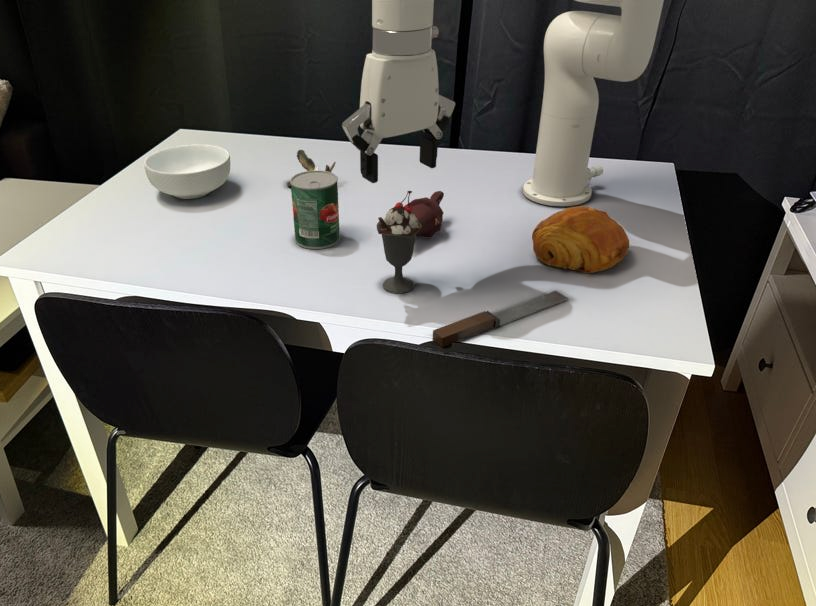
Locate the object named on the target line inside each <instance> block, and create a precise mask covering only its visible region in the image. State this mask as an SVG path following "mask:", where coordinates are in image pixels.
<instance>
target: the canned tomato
mask: <svg viewBox="0 0 816 606" xmlns="http://www.w3.org/2000/svg"><path fill="white" fill-rule="evenodd" d="M338 180H339V179H338V176H337V175H336V174H335V173H333V172H332V171H331V172H327V171H325V170H320V169H319V170H315V171H307V170H306V171H301V172H298V173H296V174H294V175H293V176H291V178H290V180H289V181H290V183H291V186H290V193H291V204H292V205H291V206H292V215H293V219H292V220H293V228H294V241H295V244H296V245H298V246H299V247H301V248H305V249H309V250H322V249H327V248H331V247H333V246H336V244H338V243H339V242H340V239H341V234H340V212H339V209H340V208H339V189H338V188H339V187H338Z"/></svg>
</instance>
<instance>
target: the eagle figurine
mask: <svg viewBox="0 0 816 606" xmlns="http://www.w3.org/2000/svg"><path fill="white" fill-rule="evenodd" d="M296 158H297V160H298V163H299V164H300V165H301V167H302V168H303V169H305V170H306V171H315V170H319V171H320V167H319V166H317V167H316V164H315V162H314V160H313V159H312V158H310V157H308V155H307V154H306V152H305V150H303V149H298V150H297V152H296ZM335 166H336V161H334V162H333V163H332V164H331V166H330V165H329V164H326V165H325V169H324V171H327V172H331V173H332V171H333V169H334V167H335ZM286 187H291V183H290V180H288V182H287V183H286Z"/></svg>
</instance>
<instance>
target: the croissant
mask: <svg viewBox="0 0 816 606" xmlns="http://www.w3.org/2000/svg"><path fill="white" fill-rule="evenodd" d="M531 239H532V247H533V252H534V254H535V256H536V257H537V258H538V259H539V260H540V262H542V263H543V264H545V265H547V266H551V267H555V268H562V269H564V270H566V269H570V270H571V271H576V270H579V272H581V273H583V274H594V273H598V272H602V271H605V270H608V269H611V268H613V267H614V266H616V265H617V264H618V263H620V262H621V261H623V259H624V258H625V256H627V255H628V250H629V249H630V239H629V237H628V235H627V232H626V230H625V229H624V227H623V226H622V225H621V224H619V223H618V222H617V221H616V220H615V219H613V218H612V217H611V216H610V215H609V213H607V212H606V211H604V210H600V209H596V208H593V207H590V206H582V205H580V206H579V205H577V206H569V207H567V208H565V209H563V210H558V211H556V212H555V213H553V214H551V215H550V216H548V217H546V218H545V219H543V220H541V221H540V222H539V223H538V224H537V225H536V226H535V228H534V229H533V231H532V235H531Z"/></svg>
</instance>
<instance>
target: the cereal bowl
mask: <svg viewBox="0 0 816 606" xmlns="http://www.w3.org/2000/svg"><path fill="white" fill-rule="evenodd" d="M143 161H144V162H143V166H144V170H145V174H146V178H147V180H148V181H149V183H150V184H151V185H152V187H153V188H154V189H156V190H157V191H159V192H161V193H164V194H167V195H169V196H173V197H175V198H177V199H182V200H193V199H194V200H195V199H199V198H202V197H205V196H207V195H209V194H210V193H211V192H213V191H215V190H216V189H218V188H219V187H221V186H222V185H224V183H225V182H226V181H227V180H228V178H229V175H230V172H231V155H230V153H229V152H228V150H227V149H225V148H223V147H220V146H218V145H213V144H203V143H192V144H191V143H190V144H183V145H182V144H180V145H175V146H171V147H166V148H162V149H160V150H157V151H155V152H152V153H151V154H149V155H148V156H147V157H146V158H145V159H144V160H143Z"/></svg>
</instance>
